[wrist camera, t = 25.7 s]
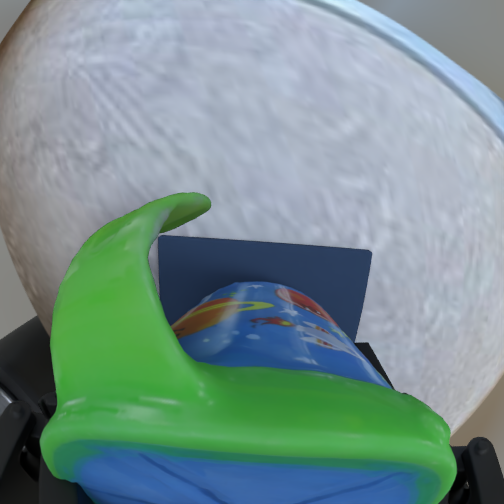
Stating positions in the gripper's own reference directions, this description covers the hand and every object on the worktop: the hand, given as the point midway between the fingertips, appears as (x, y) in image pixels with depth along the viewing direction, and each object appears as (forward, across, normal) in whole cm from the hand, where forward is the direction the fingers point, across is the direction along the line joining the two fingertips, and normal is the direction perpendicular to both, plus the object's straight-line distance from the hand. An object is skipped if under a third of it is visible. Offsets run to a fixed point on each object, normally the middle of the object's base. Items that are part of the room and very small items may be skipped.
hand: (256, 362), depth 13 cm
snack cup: (+1, 0, 0) cm, 1 cm away
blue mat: (+2, 0, 0) cm, 2 cm away
